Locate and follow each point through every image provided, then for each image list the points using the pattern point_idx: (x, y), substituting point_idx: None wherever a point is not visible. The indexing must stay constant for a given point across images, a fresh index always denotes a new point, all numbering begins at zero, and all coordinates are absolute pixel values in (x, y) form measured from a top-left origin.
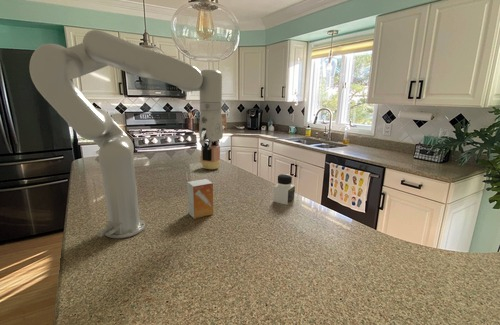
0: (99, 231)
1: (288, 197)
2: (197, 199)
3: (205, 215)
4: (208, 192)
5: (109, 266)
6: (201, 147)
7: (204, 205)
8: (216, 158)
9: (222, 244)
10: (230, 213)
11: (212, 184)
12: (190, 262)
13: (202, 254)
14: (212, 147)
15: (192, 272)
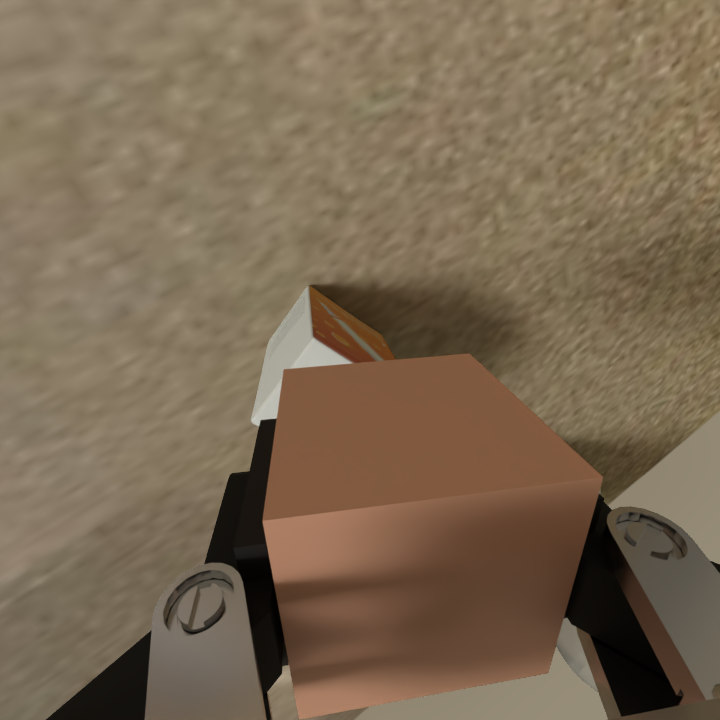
0: (599, 493)
1: None
2: (387, 358)
3: (340, 307)
4: (337, 334)
5: (668, 376)
6: (547, 665)
7: (350, 324)
8: (407, 375)
9: (540, 112)
10: (262, 206)
11: (317, 335)
12: (653, 178)
13: (609, 161)
14: (496, 555)
15: (701, 142)
